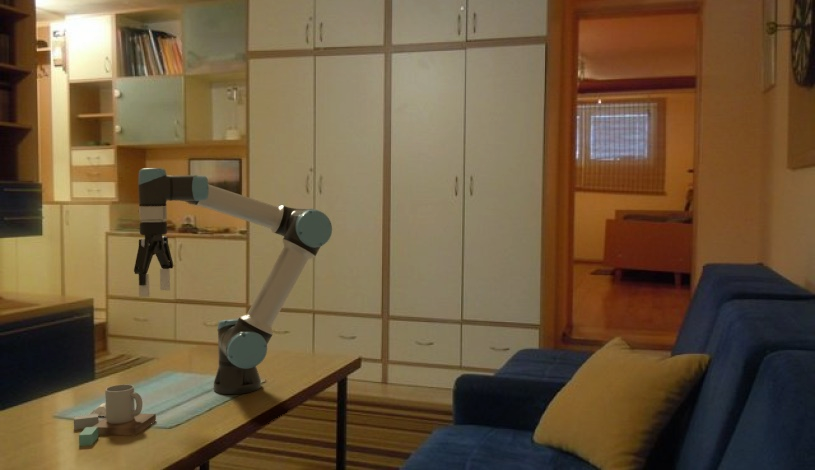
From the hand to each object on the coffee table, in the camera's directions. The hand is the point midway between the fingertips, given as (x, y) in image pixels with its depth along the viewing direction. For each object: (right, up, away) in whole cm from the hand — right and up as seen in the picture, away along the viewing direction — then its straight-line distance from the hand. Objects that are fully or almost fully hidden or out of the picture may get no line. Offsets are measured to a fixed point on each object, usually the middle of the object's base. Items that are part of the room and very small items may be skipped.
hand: (155, 293), depth 202 cm
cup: (-3, -34, -14) cm, 37 cm away
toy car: (-12, -36, -1) cm, 38 cm away
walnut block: (-3, -36, -14) cm, 38 cm away
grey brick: (-14, -36, -13) cm, 41 cm away
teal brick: (-8, -36, -24) cm, 45 cm away
